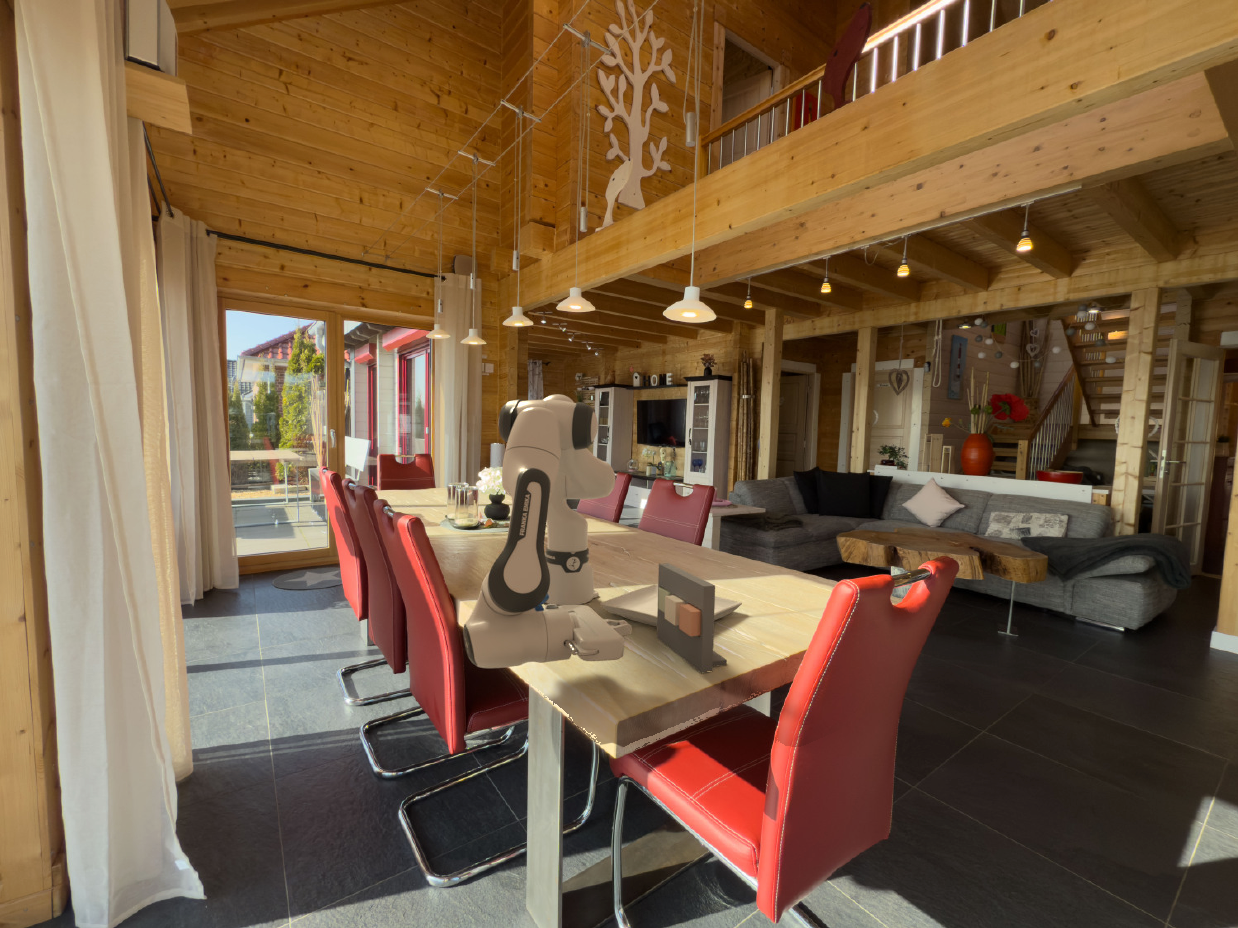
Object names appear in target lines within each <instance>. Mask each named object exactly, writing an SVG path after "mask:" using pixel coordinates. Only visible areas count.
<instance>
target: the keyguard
mask: <svg viewBox="0 0 1238 928" xmlns="http://www.w3.org/2000/svg"><path fill="white" fill-rule="evenodd" d="M657 580H658V582H657V584H658V601H659V587H663V588H665V589H666V590H668V591H670V596H671V595H677V596H678V597H680V598H682V599H683V600H685V604H692V605H694V606H695V607H697V608H699V609H700V610H701V635H699V636H689V635H688V634H686V633H685V632H683V631H682V630H681V629H679V625H676V626H675V625H673V624H672V623H671V622H669V621H668V620H666V619H665V613H664V612H663V611H661V610H660V609H658V612H657V627H656V638H657V640H659V641H660V642H661V643H662V644H664V645H665V646H666V647H668V648H669V649H670V650H671V651H673V652H674V653H675V654H677V655H678V656H679V657H680V658H682V660H684V661H685V662H686V663H687V664H689V665H690V666H692V667H693V668H694V667H695V668H696V669H695V668H694V669H695V670H697V671H698V672H699V671H700V672H701V673H700V672H699V673H700V674H703V673H702V672H706V673H708V672H707V671H712V672H713V667H720V666H726V665H725V664H727V665H728V663H727V661H728V660H727V658H725V657H723V656H722V655H721V654H719V653H718V652H716V651H715V650H714V636H715V632H714V631H715V620H714V608H715V596H716V585H715V584H714V583H711V582H709V581H707V580H705V579H702V578H700V577H698V576H696V575H694V574H692V573H690V572H688V571H685V569H682V568H680V567H677V566H676V565H674V564H672V563H669V562H666V563H664V562H663V563H658V579H657Z"/></svg>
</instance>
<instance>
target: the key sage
mask: <svg viewBox="0 0 1238 928" xmlns="http://www.w3.org/2000/svg"><path fill="white" fill-rule="evenodd" d="M665 596H670V591H668V590H666V589H665V588H663V587H659V601H658V609H660V610H661V611H663V612H664V613H665Z"/></svg>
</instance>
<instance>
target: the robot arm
mask: <svg viewBox="0 0 1238 928" xmlns="http://www.w3.org/2000/svg"><path fill="white" fill-rule="evenodd" d="M497 421H498V422H497V423H498V432H499V435H500V436H499V437H500V438H501V440H502V441H503V442H505V444H506V447H505V450H504V451H505V452H504V454H503V461H502V470H501V483H502V485H501V486H502V488H503V490H504V492H506V493H507V495H508V496H510V497H511V503H512V504H511V513H510V518H509V523H508V531H507V536H506V542H505V546H504V547H503V550H502V551H501V552H500V554H499V556H498V557H497V558H496V559H495V561H494V562H493V564H492V566H491V569H490V570H489V571H488V572H487V574H486V576H485V577H484V579H483V580H482V583H481V587H480V591H479V595H478V599H477V600H476V602H475V603H476V604H475V606H474V608H473V610H472V612H471V614H470V616H469V618H468V619H467V621H466V622H465V623H464V624H463V629H462V632H463V633H462V635H463V643H464V648H465V653H466V655H467V657H468V659H469V660H470V662H471V663H472V664H473V665H475V666H476V667H477V668H482V669H501V668H512V667H518V666H522V665H524V664H527V663H532V662H533V663H538V664H539V663H540V664H541V663H551V662H558V661H565V660H566V661H567V660H569V659H571V657H572V655H573V656H577V657H578V658H579V659H580V660H582V661H586V662H604V661H607V662H608V661H616V660H620V659H621V658H623V657H624V655H625V638H624V637H623V636H625V635H626V636H627V635H631V633H632V625H631V624H630V623H628V622H627V621H626V619H625V620H624V619H621V620H616V619H615V620H614V619H610V618H608V619H607V618H603V617H602V616H600V615H599V614H598V613H597V612H596V611H595V610H593V608H591V606H588V605H585V604H586V603H588V602H591V601H592V600H593V599H594V598H597V597H599V594H600V593H599V591H597V590H595V585H594V584H595V583H594V580H595V579H594V568H593V566H592V565H591V564H590V563H589V561H590V559H589V557H590V549H589V547H588V535H589V534H588V533H589V532H588V529H589V528H588V527H589V526H588V521H587V519H586V517H585V516H583V515H582V514H581V513H579V512H577V511H576V510H574V509H571V507H570V506H569V505H568V503H567V500H596V499H601V498H607V497H608V496H610V495H611V493H612V492H613V490H614V489H615V486H616V485H615V484H616V480H617V479H616V474H615V471H614V468H613V467H612V466H611V464H610V463H608V462H606V461H604V460H602V459H600V458H598V457H597V456H595V455H594V454H593V453H592V452H591V451H590V450H589V449H588V448H590V446H592V445H593V444H594V442H595V439H596V437H597V433H598V429H599V422H598V417H597V415H596V411H595V409H594V408H593V407H592V406H591V405H590V404H588V403H584V402H580V401H577V402H574V401H573V399H572V398H570V397H569V396H568V395H567V396H566V395H565V394H558V393H557V394H551V395H548V396H546V397H544V398H543V399H530V400H529V399H528V400H523V399H521V398H520V399H515V400H514V399H513V400H510V401H507V402H506V403H505V404H504V405H503V406H502V407H501V409H500V412H499V416H498V420H497ZM546 531H547V533H546ZM546 535H547V547H546V549H545V537H546ZM547 593H548V595H549V599H548V600H547V601H546V602H545V603H544V604H545V605H544V611H535V607H536V606H538V605H539V604H540V603H541V602H542V601H543V600H544V598H545V597H546V595H547Z"/></svg>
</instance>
